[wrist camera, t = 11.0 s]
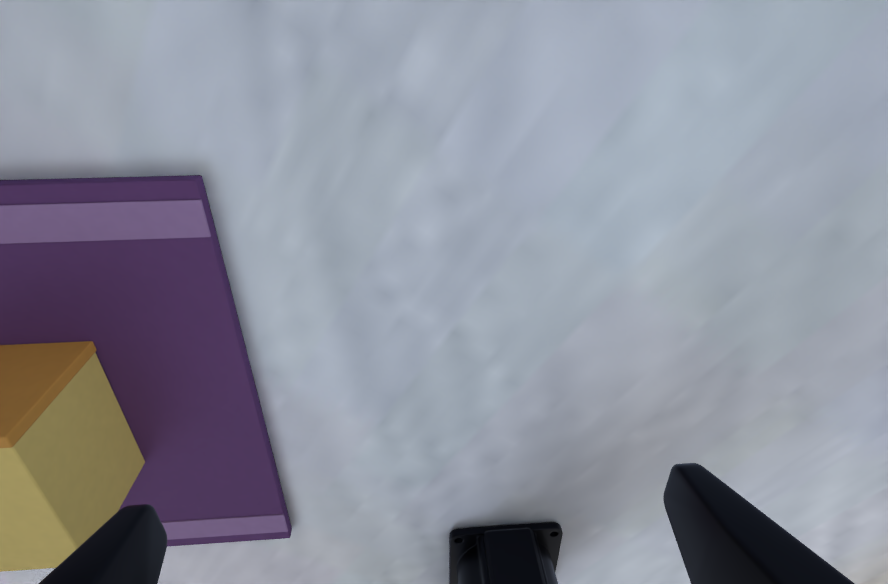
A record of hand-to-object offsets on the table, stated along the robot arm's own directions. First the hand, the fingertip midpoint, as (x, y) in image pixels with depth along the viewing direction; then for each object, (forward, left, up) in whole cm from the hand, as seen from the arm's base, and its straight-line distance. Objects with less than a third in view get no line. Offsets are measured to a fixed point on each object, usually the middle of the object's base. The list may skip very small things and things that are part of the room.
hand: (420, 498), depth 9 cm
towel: (-8, +15, -12) cm, 21 cm away
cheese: (-8, +15, -11) cm, 20 cm away
